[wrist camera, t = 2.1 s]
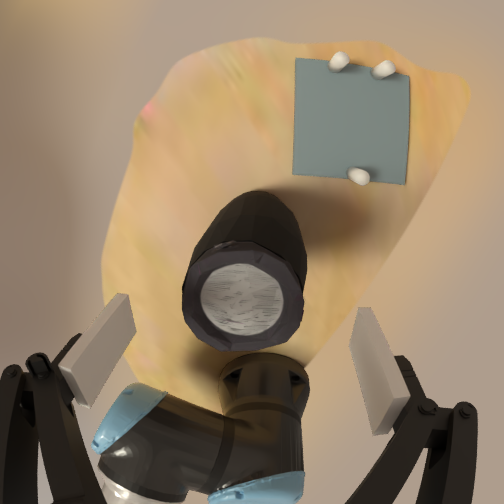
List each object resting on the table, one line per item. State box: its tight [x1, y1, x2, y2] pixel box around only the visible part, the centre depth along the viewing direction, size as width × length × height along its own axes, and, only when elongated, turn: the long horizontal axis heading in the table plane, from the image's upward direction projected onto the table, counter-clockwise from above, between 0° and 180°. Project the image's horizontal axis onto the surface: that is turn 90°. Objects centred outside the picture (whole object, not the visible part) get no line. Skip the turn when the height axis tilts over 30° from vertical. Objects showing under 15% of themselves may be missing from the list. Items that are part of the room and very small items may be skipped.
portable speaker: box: [182, 191, 307, 351], centre depth 27 cm, size 9×9×20 cm
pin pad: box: [292, 51, 409, 185], centre depth 28 cm, size 14×14×5 cm
